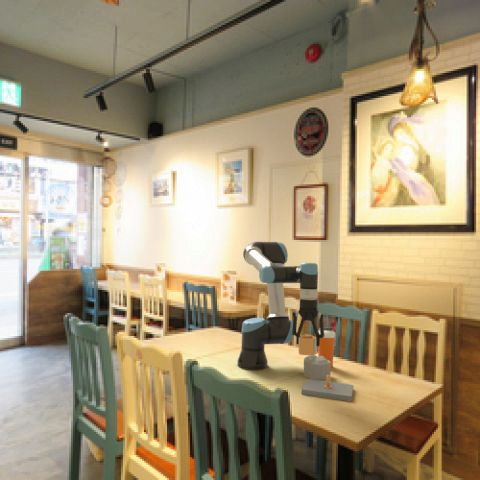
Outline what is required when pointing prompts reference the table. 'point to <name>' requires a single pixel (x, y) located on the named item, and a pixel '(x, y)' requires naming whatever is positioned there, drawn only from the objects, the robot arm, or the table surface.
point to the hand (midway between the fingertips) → (307, 352)
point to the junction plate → (328, 389)
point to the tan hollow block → (306, 345)
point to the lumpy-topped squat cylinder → (316, 367)
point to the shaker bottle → (327, 344)
